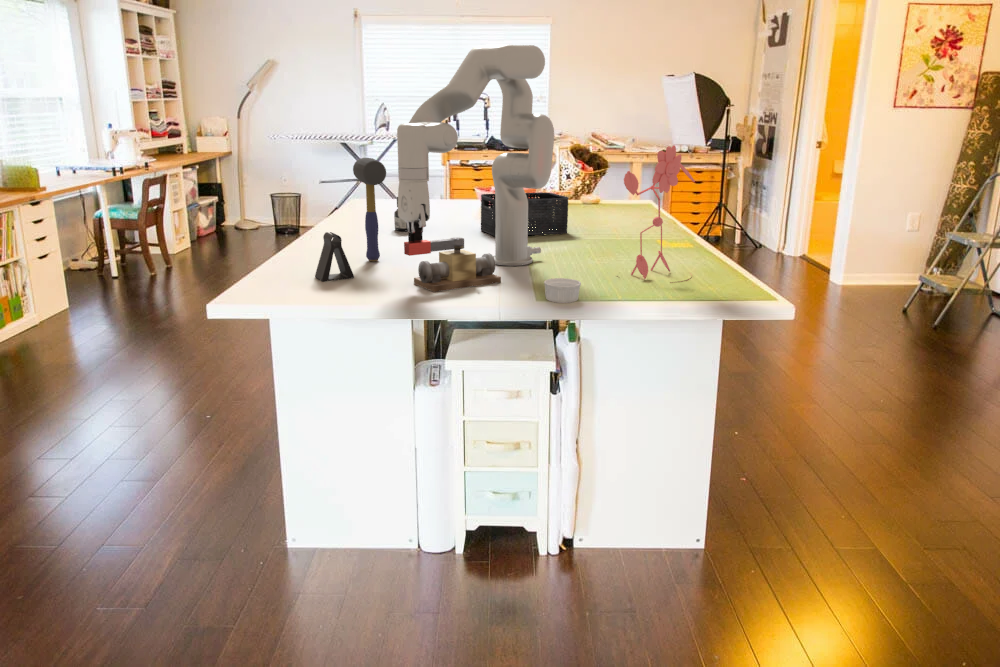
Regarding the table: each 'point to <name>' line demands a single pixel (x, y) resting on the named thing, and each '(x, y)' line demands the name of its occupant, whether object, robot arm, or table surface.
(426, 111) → the robot arm
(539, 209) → the storage bin
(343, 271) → the phone stand
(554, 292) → the ramekin
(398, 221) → the ink bottle
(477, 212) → the table surface
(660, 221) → the figurine
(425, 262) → the valve manifold
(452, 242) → the lever
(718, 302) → the table surface
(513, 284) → the table surface
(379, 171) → the rubber mallet
